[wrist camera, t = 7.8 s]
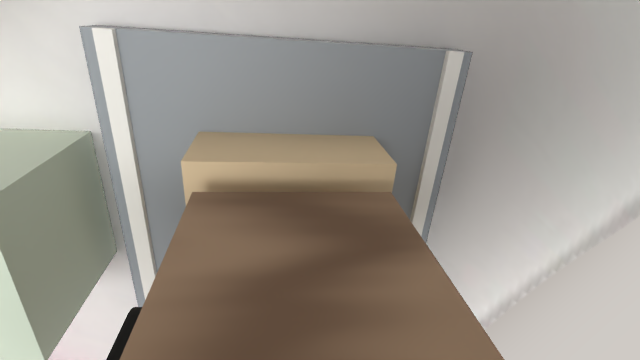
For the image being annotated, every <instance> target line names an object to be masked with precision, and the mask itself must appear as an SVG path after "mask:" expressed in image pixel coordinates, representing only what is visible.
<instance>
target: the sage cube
mask: <svg viewBox="0 0 640 360" xmlns="http://www.w3.org/2000/svg"><path fill="white" fill-rule="evenodd" d="M116 252H117V249H116V244H115V240H114V235H113V231H112V226H111V222H110V217H109V213H108V208H107V203H106V199H105V194H104V190H103V185H102V181H101V176H100V172H99V167H98V162H97V158H96V153H95V149H94V144H93V140H92V135H91V131H62V130H28V129H0V360H48V358H49V357H50V355H51V353H52V352H53V350H54V349H55V347H56V346H57V344H58V343H59V341H60V339H61V338H62V336H63V335H64V333H65V332H66V330H67V328H68V327H69V325H70V324H71V322H72V321H73V319H74V318H75V316H76V314H77V313H78V311H79V310H80V308H81V307H82V305H83V303H84V302H85V300H86V299H87V297H88V296H89V294H90V293H91V291H92V289H93V288H94V286H95V285H96V283H97V282H98V280H99V279H100V277H101V275H102V274H103V272H104V271H105V269H106V268H107V266H108V264H109V263H110V261H111V260H112V258H113V257H114V255H115V254H116Z"/></svg>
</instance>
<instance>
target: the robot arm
mask: <svg viewBox="0 0 640 360" xmlns="http://www.w3.org/2000/svg"><path fill="white" fill-rule="evenodd" d="M141 309H142V307H133V308H132V309H131V310H130V312H129V313H128V315H127V317H126V319H125V321H124V324H123V326H122V328H121V330H120V332H119V334H118V336H117V338H116V340H115V343H114V345H113V347H112V349H111V351H110V353H109V355H108V357H107V360H120V358H121V355H122V353H123V351H124V348H125V346H126V344H127V341H128V339H129V337H130V334H131V332H132V330H133V328H134V325H135V323H136V321H137V318H138V316H139V314H140V311H141Z"/></svg>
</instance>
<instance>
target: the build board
mask: <svg viewBox="0 0 640 360" xmlns="http://www.w3.org/2000/svg"><path fill="white" fill-rule="evenodd" d="M79 28H80V32H81V37H82V42H83V47H84V51H85V56H86V61H87V66H88V70H89V75H90V80H91V85H92V89H93V94H94V99H95V104H96V108H97V113H98V118H99V123H100V127H101V132H102V137H103V142H104V146H105V151H106V156H107V161H108V165H109V170H110V175H111V180H112V184H113V189H114V194H115V199H116V203H117V208H118V213H119V217H120V222H121V227H122V232H123V236H124V241H125V246H126V251H127V255H128V260H129V265H130V270H131V274H132V279H133V284H134V289H135V293H136V298H137V303H138V307H143V304H144V302H145V300H146V298H147V295H148V293H149V291H150V288H151V286H152V284H153V281H154V279H155V277H156V274H157V272H158V270H159V268H160V265H161V263H162V261H163V258H164V256H165V254H166V251H167V249H168V247H169V244H170V242H171V240H172V238H173V235H174V233H175V231H176V228H177V226H178V224H179V221H180V219H181V217H182V214H183V212H184V210H185V208H186V205H187V203H188V201H189V198H190V196H191V194H192V192H391V193H392V194H393V196H394V197H395V199H396V200H397V202H398V203H399V205H400V206H401V208H402V209H403V211H404V212H405V214H406V215H407V217H408V218H409V220H410V221H411V222H412V224H413V225H414V227H415V228H416V230H417V231H418V233H419V234H420V236H421V237H422V239H423V240H424V242H425V243H426V241H427V237H428V233H429V229H430V224H431V220H432V216H433V212H434V208H435V204H436V200H437V196H438V192H439V188H440V183H441V179H442V175H443V171H444V167H445V163H446V159H447V155H448V151H449V147H450V143H451V138H452V134H453V130H454V126H455V122H456V118H457V114H458V110H459V106H460V102H461V98H462V93H463V89H464V85H465V81H466V77H467V73H468V69H469V65H470V61H471V57H472V53H473V52H468V51H463V50H458V49H443V48H428V47H413V46H398V45H384V44H369V43H354V42H339V41H324V40H309V39H294V38H279V37H264V36H249V35H234V34H219V33H204V32H189V31H174V30H160V29H145V28H130V27H115V26H100V25H92V26H79Z"/></svg>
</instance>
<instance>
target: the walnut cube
mask: <svg viewBox="0 0 640 360" xmlns="http://www.w3.org/2000/svg"><path fill="white" fill-rule="evenodd" d="M120 360H504V359H503V357H502V356H501V354H500V353H499V351H498V350H497V348H496V347H495V345H494V344H493V342H492V341H491V339H490V338H489V336H488V335H487V333H486V332H485V330H484V329H483V327H482V326H481V324H480V323H479V322H478V320H477V319H476V317H475V316H474V314H473V313H472V311H471V310H470V308H469V307H468V305H467V304H466V302H465V301H464V299H463V298H462V296H461V295H460V293H459V292H458V290H457V289H456V288H455V286H454V285H453V283H452V282H451V280H450V279H449V277H448V276H447V274H446V273H445V271H444V270H443V268H442V267H441V265H440V264H439V262H438V261H437V259H436V258H435V256H434V255H433V254H432V252H431V251H430V249H429V248H428V246H427V245H426V243H425V242H424V240H423V239H422V237H421V236H420V234H419V233H418V231H417V230H416V228H415V227H414V225H413V224H412V222H411V221H410V220H409V218H408V217H407V215H406V214H405V212H404V211H403V209H402V208H401V206H400V205H399V203H398V202H397V200H396V199H395V197H394V196H393V194H392V193H391V192H192V194H191V196H190V198H189V201H188V203H187V205H186V208H185V210H184V212H183V214H182V217H181V219H180V221H179V224H178V226H177V228H176V231H175V233H174V235H173V238H172V240H171V242H170V244H169V247H168V249H167V251H166V254H165V256H164V258H163V261H162V263H161V265H160V268H159V270H158V272H157V274H156V277H155V279H154V281H153V284H152V286H151V288H150V291H149V293H148V295H147V298H146V300H145V302H144V304H143V307H142V309H141V311H140V314H139V316H138V318H137V321H136V323H135V325H134V328H133V330H132V332H131V334H130V337H129V339H128V341H127V344H126V346H125V348H124V351H123V353H122V355H121V358H120Z"/></svg>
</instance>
